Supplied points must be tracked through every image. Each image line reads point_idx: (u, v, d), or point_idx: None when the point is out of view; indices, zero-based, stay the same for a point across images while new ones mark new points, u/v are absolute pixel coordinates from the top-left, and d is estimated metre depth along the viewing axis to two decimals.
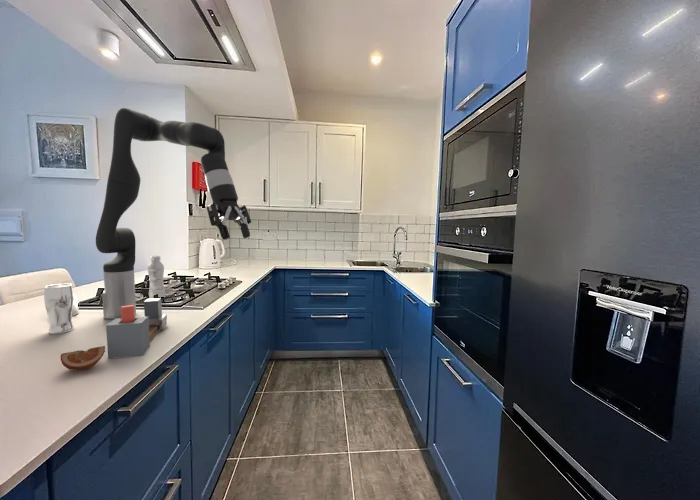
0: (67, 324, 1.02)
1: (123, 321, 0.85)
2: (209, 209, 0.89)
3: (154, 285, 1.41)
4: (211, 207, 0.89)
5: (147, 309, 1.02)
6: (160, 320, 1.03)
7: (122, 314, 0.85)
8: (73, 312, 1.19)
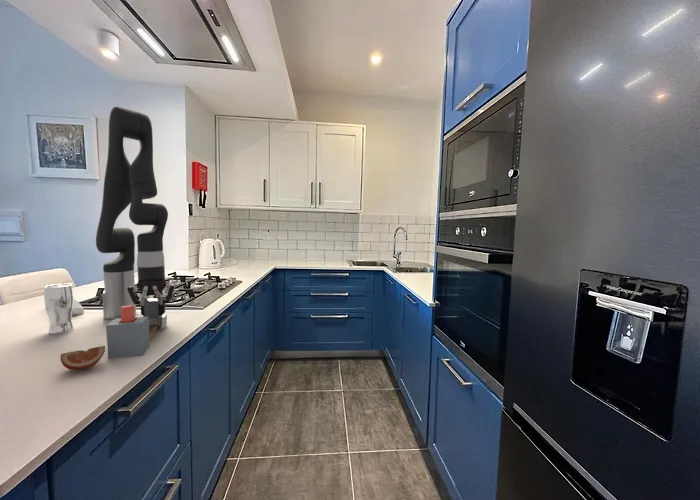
0: (67, 324, 1.02)
1: (123, 321, 0.85)
2: None
3: None
4: None
5: (147, 309, 1.02)
6: (160, 320, 1.03)
7: (122, 314, 0.85)
8: (80, 311, 1.20)
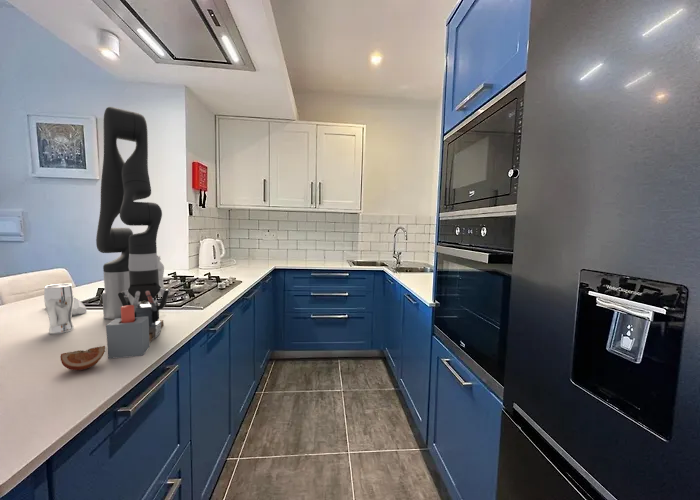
0: (67, 324, 1.02)
1: (123, 321, 0.85)
2: None
3: None
4: None
5: (139, 315, 0.95)
6: (153, 327, 0.96)
7: (122, 314, 0.85)
8: (82, 310, 1.21)
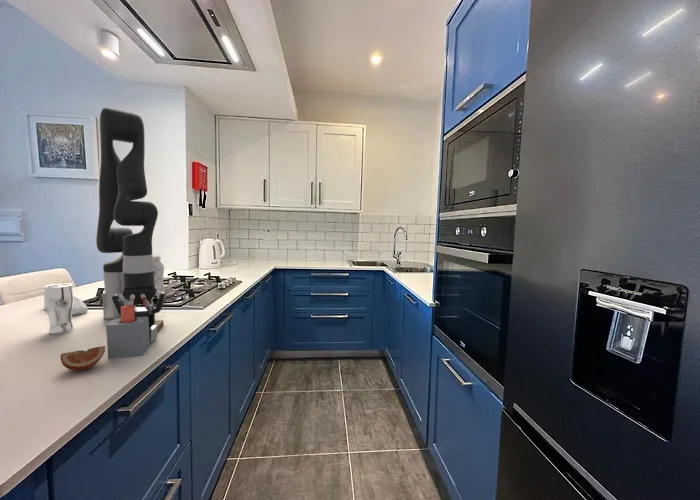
0: (67, 324, 1.02)
1: (123, 321, 0.85)
2: None
3: None
4: None
5: None
6: (149, 332, 0.92)
7: (122, 314, 0.85)
8: (84, 310, 1.22)
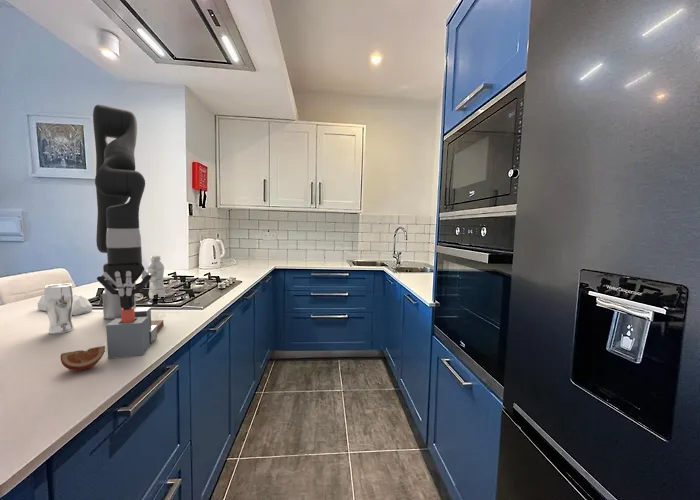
0: (67, 324, 1.02)
1: None
2: None
3: (154, 285, 1.41)
4: None
5: None
6: (149, 332, 0.92)
7: (122, 316, 0.85)
8: (89, 308, 1.24)
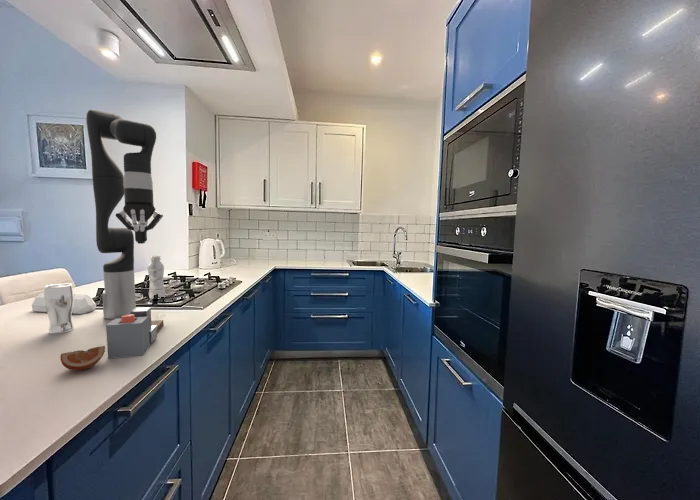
0: (67, 324, 1.02)
1: None
2: None
3: (154, 285, 1.41)
4: None
5: None
6: (149, 332, 0.92)
7: None
8: (94, 307, 1.26)
